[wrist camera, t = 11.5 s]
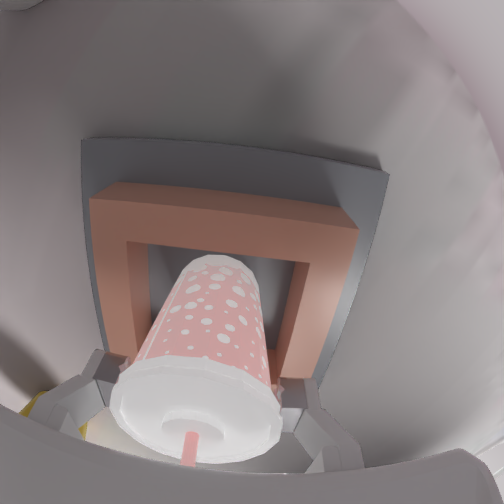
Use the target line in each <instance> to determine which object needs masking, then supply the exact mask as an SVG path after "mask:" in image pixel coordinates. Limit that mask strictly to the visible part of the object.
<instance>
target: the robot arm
mask: <svg viewBox="0 0 504 504" xmlns="http://www.w3.org/2000/svg"><path fill="white" fill-rule="evenodd" d="M130 365H131V360H130V357H128V356H123V355H119V354H115V353H111V352H108V351H103V350H99V349H96V350H95V351H94V352H93V354H92V356H91V358H90V359H89V361H88V363H87V365H86V367H85V369H84V371H83V372H82V374H81V375H76V376H75V377H73V378H71V379H69V380H68V381H66V382H64V383H62V384H60V385H59V386H57V387H55V388H53V389H52V390H50V391H48V392H46V393H44V394H43V395H41V396H39V397H38V399H37V400H36V402H35V404H34V406H33V408H32V409H31V411H30V413H29V415H28V417H25V416H23V415H21V414H19V413H16V412H14V411H12V410H11V409H9V408H7V407H5V406H3V405H1V404H0V504H504V503H503V500H502V497H501V495H500V492H499V489H498V487H497V485H496V482H495V480H494V478H493V475H492V474H491V472H490V470H489V469H488V467H487V466H486V464H485V463H484V462H482V461H481V460H480V459H478V458H477V457H475V456H474V455H472V454H471V453H469V452H468V451H466V450H464V449H460V448H458V449H454V450H450V451H447V452H443V453H440V454H436V455H432V456H428V457H424V458H419V459H415V460H410V461H406V462H401V463H395V464H390V465H384V466H378V467H371V468H365V465H364V460H363V456H362V452H361V447H360V444H359V443H358V442H357V441H356V440H355V439H354V438H353V437H352V436H351V435H350V434H349V433H348V432H347V431H346V430H345V429H344V428H343V427H342V426H341V425H340V424H339V423H338V422H337V421H336V420H335V419H334V418H333V417H332V416H331V415H330V414H329V413H328V412H327V411H326V410H325V409H321V404H320V399H319V394H318V388H317V383H316V380H315V378H292V377H278V379H277V382H276V386H277V388H276V389H274V392H273V394H274V396H275V398H276V399H277V401H278V403H279V404H280V406H281V407H280V413H279V414H280V415H281V417H282V422H283V426H282V430H281V432H288V433H293V434H294V436H295V437H296V438H297V440H298V441H299V442H300V444H301V445H302V446H303V448H304V449H305V450H306V452H307V453H308V454H309V456H310V457H311V458H312V460H313V462H312V464H311V465H310V466H309V468H308V469H307V470H306V472H305V473H250V472H235V471H224V470H214V469H206V468H198V467H192V466H185V465H179V464H173V463H168V462H163V461H158V460H153V459H148V458H144V457H140V456H135V455H131V454H127V453H124V452H120V451H116V450H113V449H109V448H106V447H103V446H99V445H96V444H93V443H90V442H87V441H85V440H84V438H83V437H82V435H81V433H80V432H79V430H78V429H79V428H80V427H81V426H82V425H84V424H85V423H86V422H87V421H89V420H90V419H91V418H92V417H94V416H95V415H96V414H97V413H98V412H100V411H101V410H102V409H103V408H105V406H107V407H109V406H110V399H111V392H112V389H113V387H114V385H115V384H116V383H118V380H119V375H120V374H121V373H122V372H124V371H125V370H126V369H127V368H129V367H130Z"/></svg>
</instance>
